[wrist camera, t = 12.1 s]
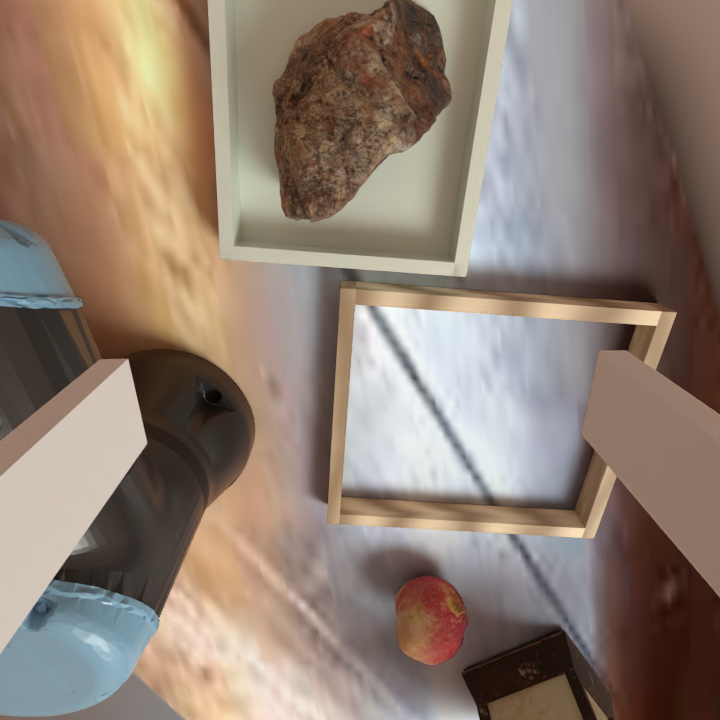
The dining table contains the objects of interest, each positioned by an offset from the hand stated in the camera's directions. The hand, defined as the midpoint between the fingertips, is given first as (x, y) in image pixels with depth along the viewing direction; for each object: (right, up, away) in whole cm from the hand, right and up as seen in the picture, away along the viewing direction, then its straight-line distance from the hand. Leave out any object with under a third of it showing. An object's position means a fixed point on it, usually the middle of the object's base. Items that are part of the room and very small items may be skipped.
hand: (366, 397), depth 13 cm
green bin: (-1, +19, +20) cm, 27 cm away
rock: (-1, +18, +19) cm, 26 cm away
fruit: (+7, -24, +39) cm, 46 cm away
